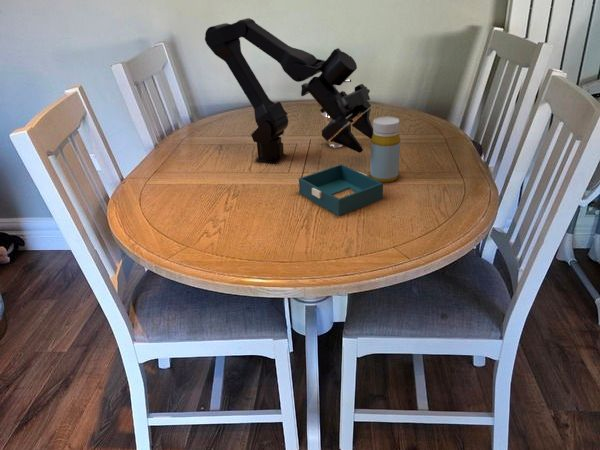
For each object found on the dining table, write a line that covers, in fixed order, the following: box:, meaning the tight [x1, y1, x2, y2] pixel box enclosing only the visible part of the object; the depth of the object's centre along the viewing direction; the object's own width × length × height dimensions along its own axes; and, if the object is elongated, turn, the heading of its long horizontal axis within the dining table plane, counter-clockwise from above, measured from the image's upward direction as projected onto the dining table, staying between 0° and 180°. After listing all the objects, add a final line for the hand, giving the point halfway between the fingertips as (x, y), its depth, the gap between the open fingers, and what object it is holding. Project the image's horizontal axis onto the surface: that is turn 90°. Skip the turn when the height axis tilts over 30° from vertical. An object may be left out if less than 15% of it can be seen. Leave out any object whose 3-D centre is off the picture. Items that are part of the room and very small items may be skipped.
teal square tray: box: [298, 163, 384, 217], centre depth 115 cm, size 15×14×4 cm
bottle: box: [369, 116, 401, 184], centre depth 120 cm, size 7×7×15 cm
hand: (368, 145), depth 121 cm, fingers open, 9 cm apart
